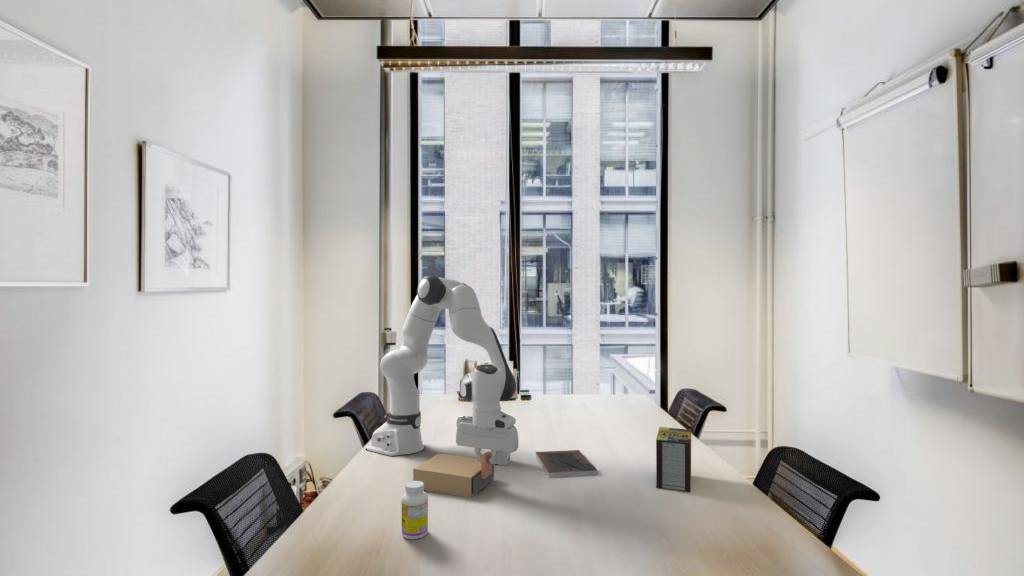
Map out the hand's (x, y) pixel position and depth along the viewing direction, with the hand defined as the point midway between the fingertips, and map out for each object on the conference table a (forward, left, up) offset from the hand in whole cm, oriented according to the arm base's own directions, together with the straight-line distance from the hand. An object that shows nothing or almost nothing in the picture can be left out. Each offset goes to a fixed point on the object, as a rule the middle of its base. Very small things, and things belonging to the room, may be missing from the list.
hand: (486, 462), depth 165 cm
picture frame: (+16, +30, -9) cm, 35 cm away
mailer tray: (-10, 0, -7) cm, 13 cm away
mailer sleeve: (-11, 0, -8) cm, 14 cm away
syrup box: (-5, +24, -8) cm, 26 cm away
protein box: (+54, +28, -8) cm, 61 cm away
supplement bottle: (-4, -34, -8) cm, 35 cm away
